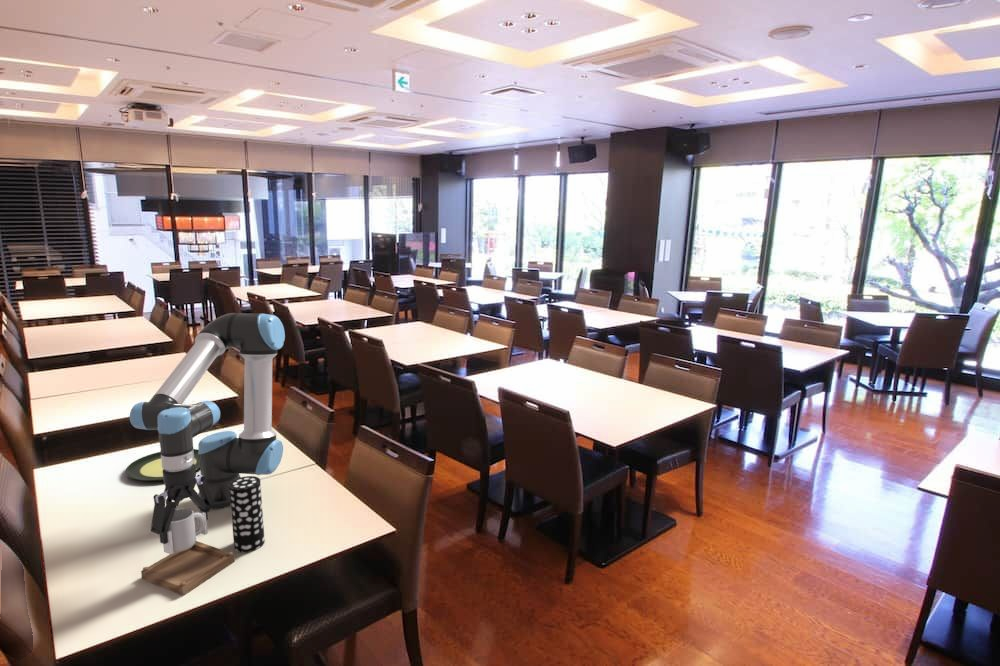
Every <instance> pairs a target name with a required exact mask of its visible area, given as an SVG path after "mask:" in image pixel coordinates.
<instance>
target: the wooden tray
mask: <svg viewBox="0 0 1000 666" xmlns="http://www.w3.org/2000/svg"><path fill="white" fill-rule="evenodd" d="M235 561H236V560H235V554H234V553H233V552H232V551H227V550H224V549H221V548H219V547H215V546H213V545H209V544H206V543H204V542H201V541H197V540H196V542H195V544H194V545H193V546H192V547H191V548H189V549H187V550H184V551H181V552H174V553H173V554H168V555H166V556H164V557H163V558H161V559H160V560H158V561H156V562H154V563H153V564H151V565H149V566H144V567H143V568H142V570H141V571H140V573H141V579H142V580H144V581H146V582H149V583H150V584H154V585H156V586H159V587H161V588H162V589H163V588H164V589H166V590H168V591H170V592H173V593H176V594H178V595H180V596H186V595H187V594H189V593H190V592H191V591H193V590H195V589H196V588H198V587H199V586H200V585H202V584H203V583H205V582H207V581H208V580H209V579H210V578H212V577H214V576H216V575H217V574H219V573H220V572H221V571H223V570H225V569H226V568H228V567H229V566H231V565H232V564H233V563H235Z"/></svg>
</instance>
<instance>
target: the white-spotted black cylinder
mask: <svg viewBox="0 0 1000 666" xmlns="http://www.w3.org/2000/svg"><path fill="white" fill-rule="evenodd" d="M240 477H241V478H237V479H235V480H233V481H232V482H230V484H229V492H230V503H231V506H230V512H231V513H230V514H231V515H230V516H231V525H232V526H231V527H232V537H233V547H234V550H235V551H236V552H239V553H250V552H255V551H257V550H258V549H260V548H262V547H263V545H265V542H266V541H265V540H266V539H265V530H264V529H265V527H264V513H263V500H262V486H261V485H262V484H261V479H260V477H258V476H254V475H253V476H252V475H249V476H240Z"/></svg>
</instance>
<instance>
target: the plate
mask: <svg viewBox="0 0 1000 666" xmlns="http://www.w3.org/2000/svg"><path fill="white" fill-rule="evenodd" d="M193 450H194V460H195V462H194V464H195V470H196V471H197V470H199V469H200V462H199V454H198V449H196V448H193ZM124 474H125V476H126V477H127V478H129V479H132V480H135V481H142V482H156V481H164V480H163V468H162V463H161V451H157V452H154V453H151V454H147V455H146V456H142V457H140V458H138V459H136V460H134V461H132V462H131V463H130V464H128V466H127V467H126V468H125V470H124Z"/></svg>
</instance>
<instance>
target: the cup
mask: <svg viewBox="0 0 1000 666" xmlns="http://www.w3.org/2000/svg"><path fill="white" fill-rule="evenodd" d="M195 519H196V520H197V519H198V521H199V527H198V526H197V529H196V524H195ZM204 528H205V518H204V516H203V515H202V514H201V513H197V512H195V511H194V510H193V509H192V508H189V507H188V508H187V507H185V508H184V507H182V508H176V509H175V512H174V515H173V518H172V521H171V524H170V527H169V529H168V530H171V532H172V542H173V551H174V552H181V551H184V550H187V549H189V548H191V547H192V546H193V545H194V544H195V542H196V541H197V536H199V535H201V533H202V532H203V530H204Z"/></svg>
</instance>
